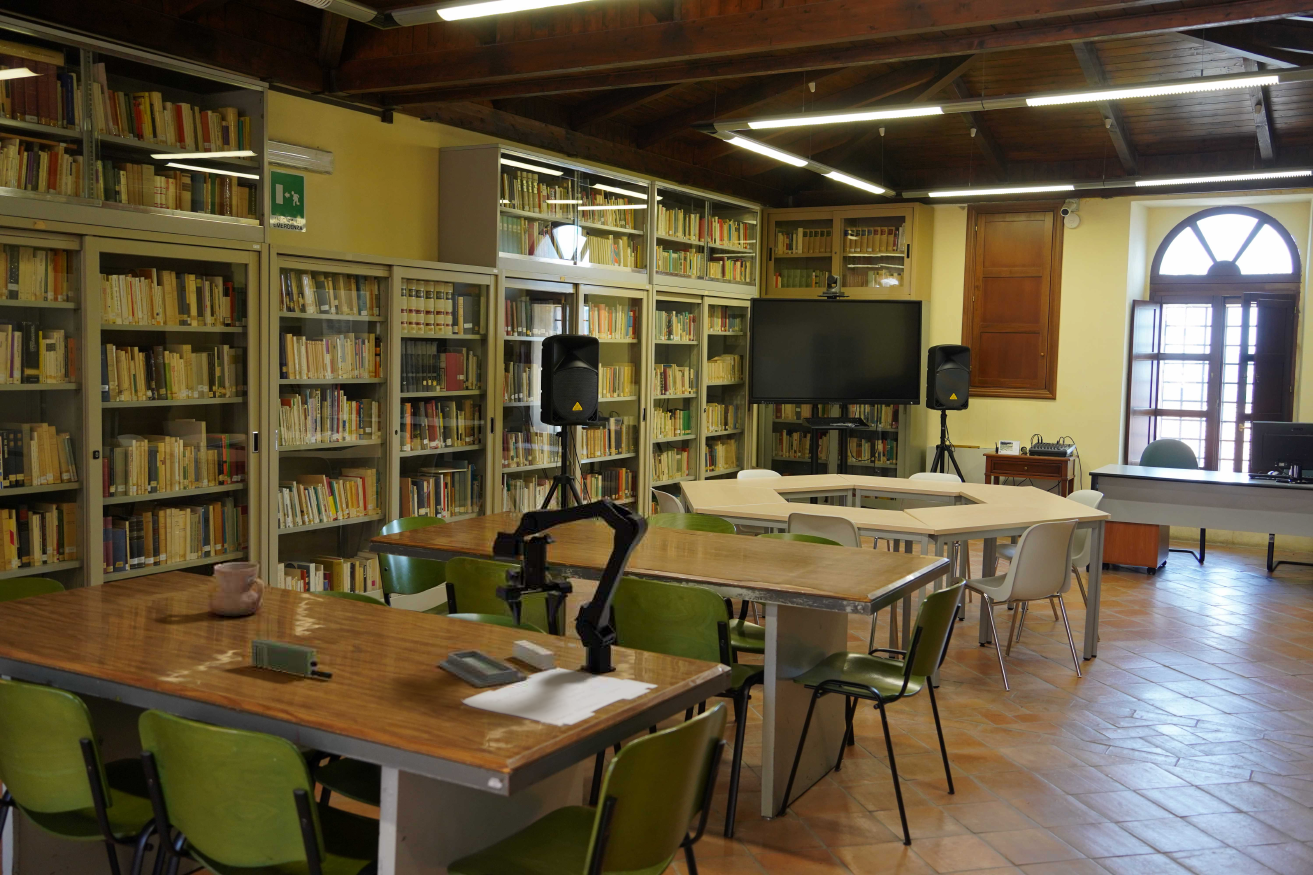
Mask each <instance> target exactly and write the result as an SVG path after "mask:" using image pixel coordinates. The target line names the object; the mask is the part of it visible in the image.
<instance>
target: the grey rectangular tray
mask: <svg viewBox="0 0 1313 875" xmlns="http://www.w3.org/2000/svg"><path fill="white" fill-rule="evenodd" d="M438 666H439V667H440V668H442V669H444V670H446V671H447V672H450V673H451V674H453V675H455V676H457V677H459V678H460V679H462V680H465V681H466V682H468V683H470V684H472V685H474V686H475V687H476V688H477V687H478V688H479V689H480V688H487V687H493V686H497V685H503V684H504V685H505V684H510V683H515V682H522V681H527V675H526V674H523V673H521V672H520V671H519V669H516V668H515V667H512V666H510V665H508V664H506V663H504V662H502V661H501V660H498V659H496V658H494V657H492V656H490V655H488V654H486V653H483V652H481V651H479V650H477V649H471V650H465V651H458V652H450V653H447V654H446V660H441V661H440V660H439V661H438Z"/></svg>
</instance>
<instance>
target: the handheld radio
mask: <svg viewBox="0 0 1313 875" xmlns="http://www.w3.org/2000/svg"><path fill="white" fill-rule="evenodd" d="M318 650H319V649H318V648H312V647H307V646H303V645H295V644H293V643H286V642H281V641H276V640H275V641H274V640H269V639H264V638H260V637H259V638H258V637H256V638H254V639H252V640H251V663H252V665H255V666H260V667H265V668H271V669H276V670H280V671H286V672H290V673H295V674H299V675H304V676H315V677H319V678H323V679H328V680H331V679H333V674H332V673H331V672H327V671H321V670H317V666H318V662H317V656H318V654H317V651H318Z"/></svg>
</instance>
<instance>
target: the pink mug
mask: <svg viewBox="0 0 1313 875" xmlns="http://www.w3.org/2000/svg"><path fill="white" fill-rule="evenodd" d="M259 569H260V564H258V563H255V562H249V561H248V562H243V561H240V562H237V561H236V562H226V563H222V564H216V565H214V566H213V572H214V573H213V575H212V578H214V579H216V583H217V584H218V587H219V589H220V592H219V593H218V594H216V595H215V596H214V597H212V598H211V600H210V601H209V604H208V606H209V608H210V610H211V611H212V612H213V613H214V614H217V615H219V616H222V615H224V616H223V617H240V616H239V615H244V616H248V614H249V615H251V614H254V613H256V612H258V611H260V610H261V609H262V608H263V605H264V600H263V596H264V594H265V583H264V581H263V580H262V579H260V578H258V573H259V571H260V570H259ZM255 584H257V590H258V591H257V593H256V592H255V591H254V590H253V588H254V586H255Z"/></svg>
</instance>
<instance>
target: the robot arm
mask: <svg viewBox="0 0 1313 875" xmlns="http://www.w3.org/2000/svg"><path fill="white" fill-rule="evenodd" d="M596 517H599V518H601V519H602V520H603V521H604V523H606V524H607V526H609V528H611V529H613V530H614V535H613V549H612V552H611V554H610V556H609V558H608V560H607V563H606V566H605V569H604V570H603V573H602V575H601V578H600V579H599V580H600V581H599V583H598V585H597V587H596V590H595V592H594V594H593V596H592V599H591V600H589V601H588V602H585V603H583V604H581V605H580V607H579V610H578V613H577V616H576V617H575V618H574V619H573V621H574V622H575V625H574V630H575V631H576V634H577V636H579V638H580V642H581V644H582V647H583V648H585V664H584V665H583V664H582V665H580V669H582V670H584V671H587V672H589V673H591V674H600V673H606V672H613V671H617V667H615V666H612V645H611V643H612V642H614V641H615V639H616V636H617V632H616V631H615V630H614V629H613V627H612V626H611V625H610V624H609V619H610V612H611V611H610V605H611V603H612V600H613V598H614V596H615V593H616V590H617V588H618V586H619V583H620V581H621V579H622V576H623V574H624V572H625V569H626V566H627V564H628V563H629V559H630V557H631V556H632V553H633V551H634V550H635V549H636V548H637V547H638V545H639V544H640V542H641V541H642V540H643V538H644V537H645V535H646V534H647V532H648V529H649V524H648V521H647V519H646V517H645V516H643V515H642V514H639V513H634V512H633V511H631V510H630V509H628V508H625V507H624V506H621V505H619V504H617V503H616V502H615V501H614V500H612V499H610V498H607V497H604V498H601V499H598V500H596V501H591V502H587V503H583V504H582V503H581V504H578V505H574V506H568V507H564V508H563V507H562V508H558V509H557V508H556V509H555V508H540V509H539V508H537V509H534V510H530V511H525V512H524V513H523V514H522V516H521V518H520V523H519V525H518V526H517V527H516V529H515V530H514V532H510V531H506V530H500V531H497V532H496V537H495V540H494V542H493V545H492V555H493V556H494V558H495V559H500V560H512V561H513V560H514V561H518V560H520V558H521V557H523V560H522V564H520V566H519V570H518V571H517V570H516V568H508V569H506V570H505V582H506V583H507V584H500V585H498V586H497V587H496V589H495V597H496V598H498V599H500V600H501V601H502V602H505V603H506V605H507V606H508V608H509V610H510V614H511V616H512V619H513V621H514V624H515V626H516V628H520V626H521V619H522V618H521V616H522V605H523V604H522V600H521V599H520V598H521V596H522V595H532V594H540V593H547V594H546V595H547V597H548V621H549V623H553V622H554V620H555V618H556V616H557V613H558V612H559V609H560V608H561V606H562V605H563V603H564V601H565V599H566V598H568V597H569V595H570V594H573V591H574V590H573V588H574V586H573V584H572V582H571V581H568V580H566V579H562V578H559V579H558V578H557V579H550V580H549V581H547V579H548V578H547V577H548V576H547V574H548V573H547V572H548V571H550V565H547V563H548V562H547V561H548V556H547V555H548V545H551V544H555V543H556V539H555V538H553V537H552V536H551V535H550V533H545V534H544V535H543V536H539V535H537V534H541V533H544V532H547V531H548V530H551V529H554V528H556V527H558V526H560V525H563V524H567V523H573V522H578V521H582V520H586V519H587V520H588V519H590V518H591V519H592V518H596ZM529 536H531V537H530V538H525V537H529ZM509 583H512V584H509Z"/></svg>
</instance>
